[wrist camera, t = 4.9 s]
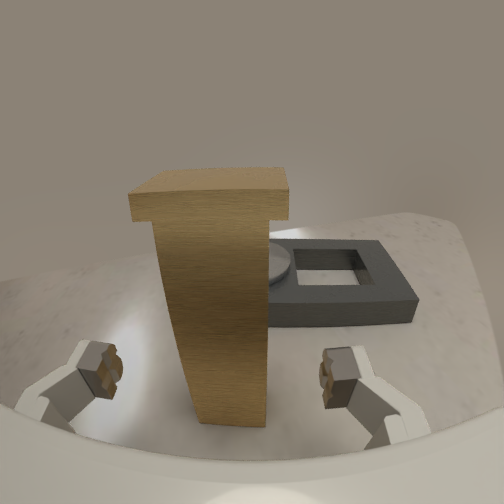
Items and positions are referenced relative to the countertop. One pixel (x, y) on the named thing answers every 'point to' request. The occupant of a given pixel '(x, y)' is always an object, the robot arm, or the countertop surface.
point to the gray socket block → (336, 296)
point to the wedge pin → (217, 279)
